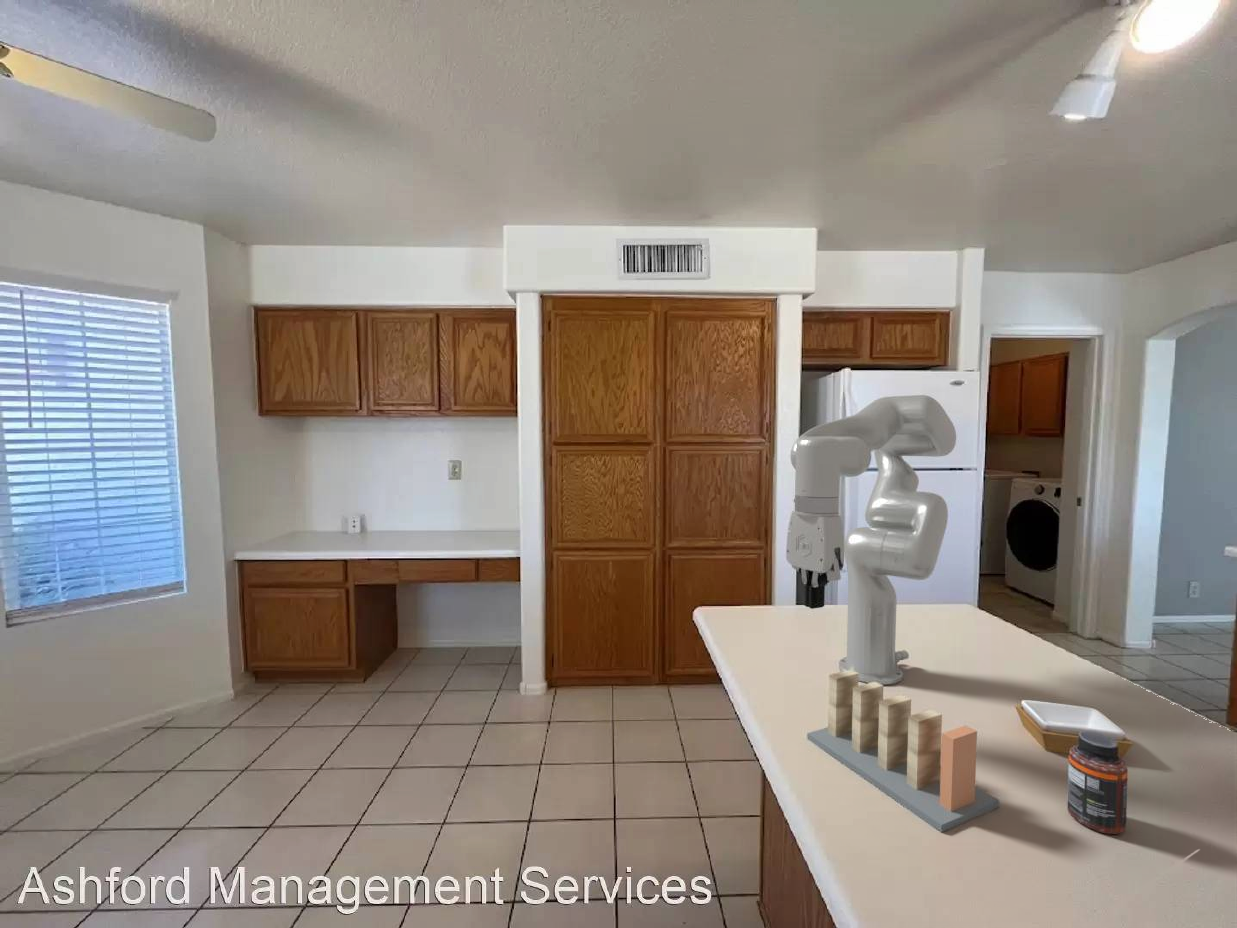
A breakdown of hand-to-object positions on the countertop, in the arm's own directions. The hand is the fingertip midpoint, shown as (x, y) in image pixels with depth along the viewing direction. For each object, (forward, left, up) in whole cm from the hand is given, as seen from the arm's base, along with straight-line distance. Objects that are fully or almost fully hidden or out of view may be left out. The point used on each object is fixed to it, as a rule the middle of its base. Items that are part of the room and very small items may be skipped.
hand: (814, 606), depth 98 cm
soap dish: (-34, +24, -21) cm, 46 cm away
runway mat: (0, +17, -21) cm, 27 cm away
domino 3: (0, +17, -20) cm, 26 cm away
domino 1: (0, +7, -20) cm, 21 cm away
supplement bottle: (-15, +36, -21) cm, 44 cm away
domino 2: (0, +12, -20) cm, 23 cm away
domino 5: (0, +27, -20) cm, 33 cm away
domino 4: (0, +22, -20) cm, 30 cm away
